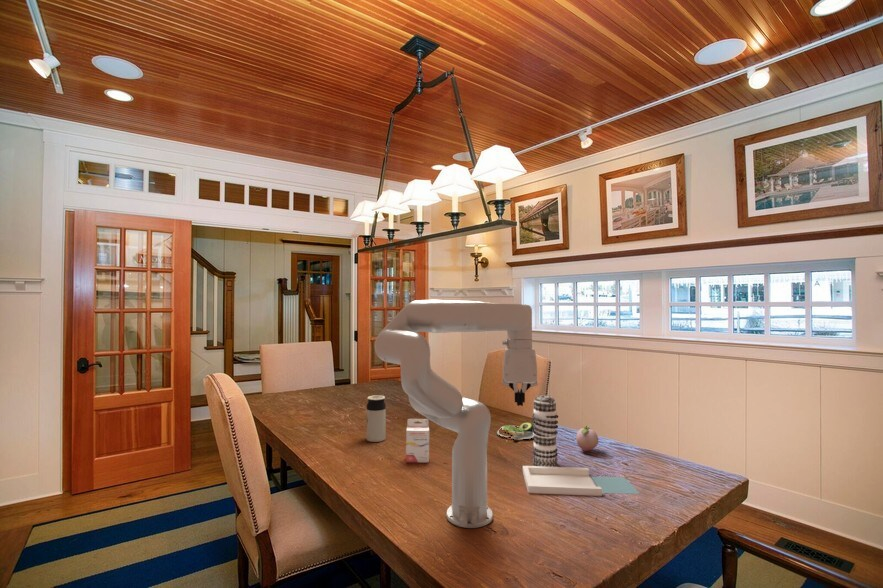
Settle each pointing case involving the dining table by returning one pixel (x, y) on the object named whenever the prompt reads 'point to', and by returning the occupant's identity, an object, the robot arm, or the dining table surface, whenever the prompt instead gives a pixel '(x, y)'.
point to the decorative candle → (545, 431)
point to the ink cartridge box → (417, 441)
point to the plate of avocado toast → (519, 431)
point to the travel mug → (376, 418)
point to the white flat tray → (560, 481)
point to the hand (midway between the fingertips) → (519, 404)
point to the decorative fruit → (586, 439)
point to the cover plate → (614, 485)
